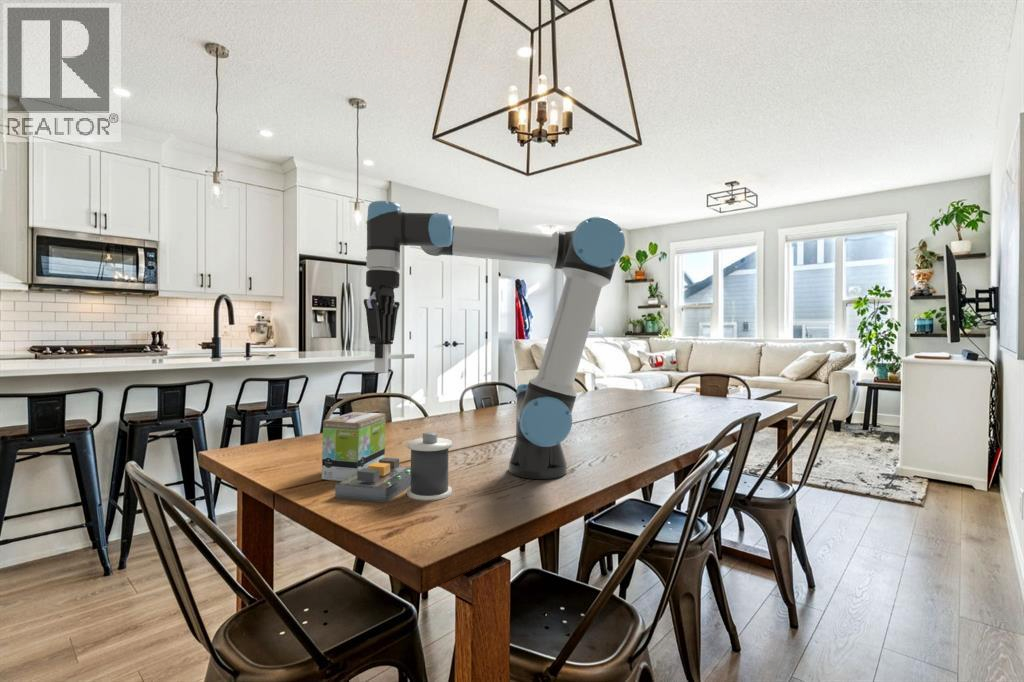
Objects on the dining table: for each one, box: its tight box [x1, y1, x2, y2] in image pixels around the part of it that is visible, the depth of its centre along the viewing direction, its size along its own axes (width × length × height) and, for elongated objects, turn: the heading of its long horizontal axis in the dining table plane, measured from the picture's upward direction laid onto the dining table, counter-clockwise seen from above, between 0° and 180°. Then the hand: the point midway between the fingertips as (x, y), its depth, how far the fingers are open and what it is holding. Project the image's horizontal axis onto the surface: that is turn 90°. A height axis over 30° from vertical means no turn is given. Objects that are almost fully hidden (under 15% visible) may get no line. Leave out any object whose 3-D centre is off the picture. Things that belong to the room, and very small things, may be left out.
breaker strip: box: [334, 466, 411, 504], centre depth 120 cm, size 12×17×3 cm
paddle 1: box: [357, 468, 379, 482], centre depth 115 cm, size 4×3×2 cm, turn 77°
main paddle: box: [368, 462, 390, 476], centre depth 120 cm, size 4×3×2 cm
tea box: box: [321, 411, 387, 482], centre depth 132 cm, size 15×10×15 cm, turn 168°
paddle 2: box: [379, 457, 400, 470], centre depth 125 cm, size 4×3×2 cm, turn 77°
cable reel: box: [406, 431, 453, 502], centre depth 117 cm, size 10×10×14 cm
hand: (381, 372), depth 120 cm, fingers closed
